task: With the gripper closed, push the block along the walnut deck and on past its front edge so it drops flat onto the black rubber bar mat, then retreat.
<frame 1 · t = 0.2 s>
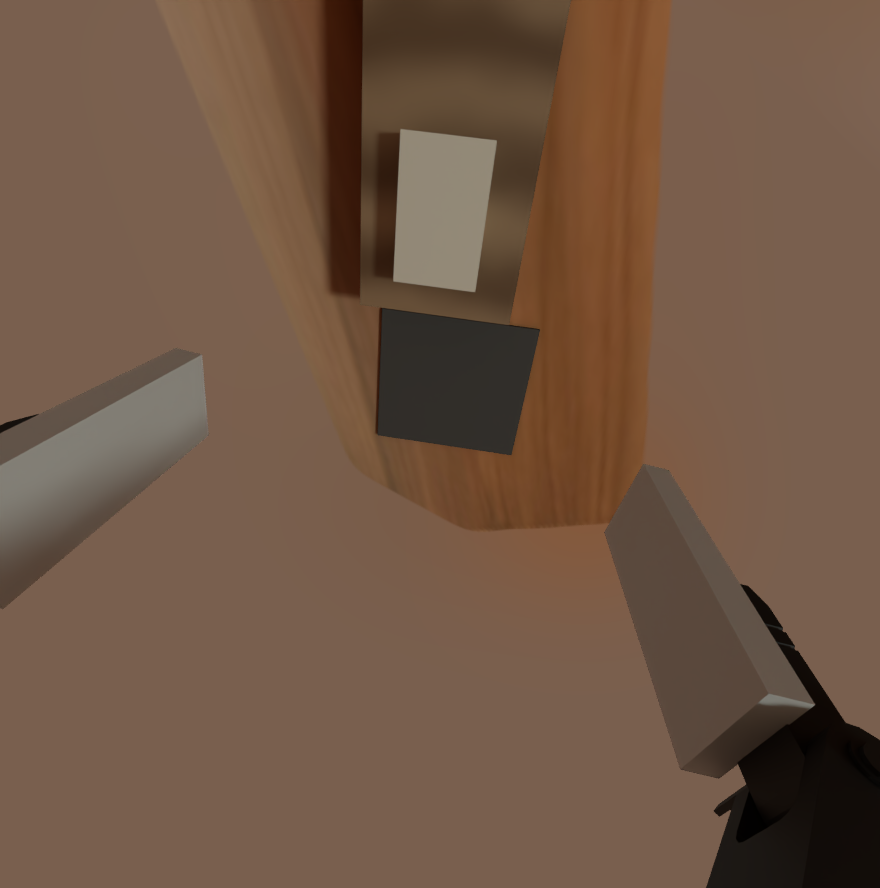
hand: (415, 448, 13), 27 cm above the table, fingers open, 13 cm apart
block: (443, 215, 30), point 4 cm above the table, touching deck
deck: (453, 168, 32), on the table
mat: (451, 386, 41), on the table
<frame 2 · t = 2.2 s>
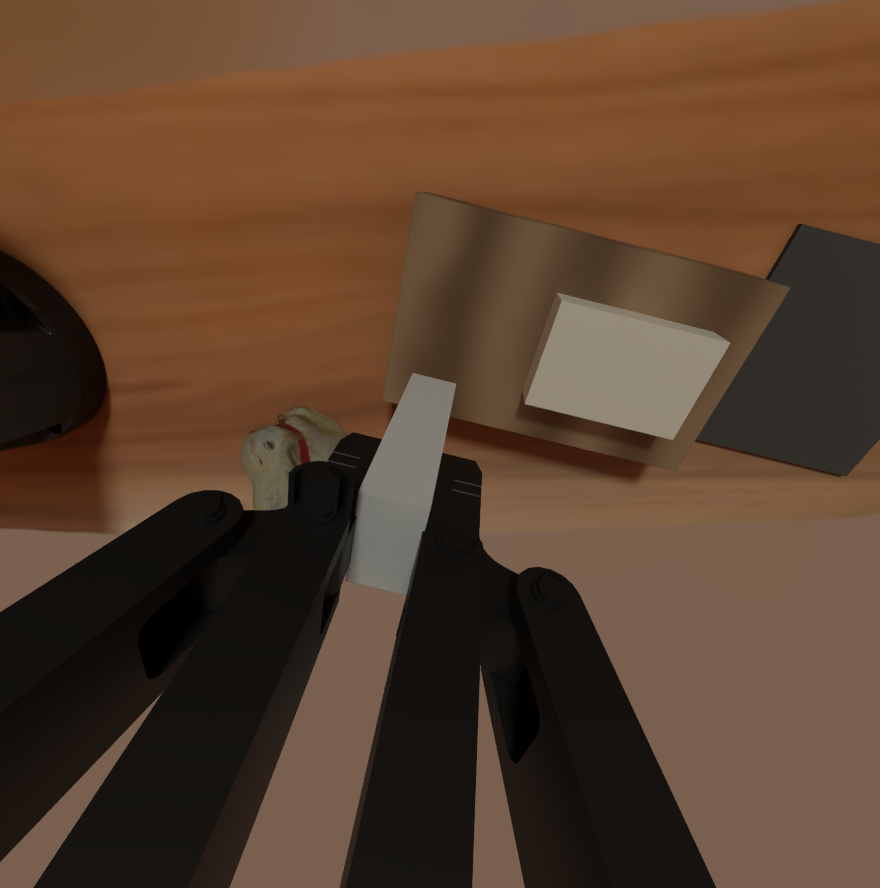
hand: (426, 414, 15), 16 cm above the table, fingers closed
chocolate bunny: (322, 439, 35), on the table
block: (612, 362, 25), point 4 cm above the table, touching deck
deck: (554, 331, 28), on the table
mat: (824, 366, 28), on the table
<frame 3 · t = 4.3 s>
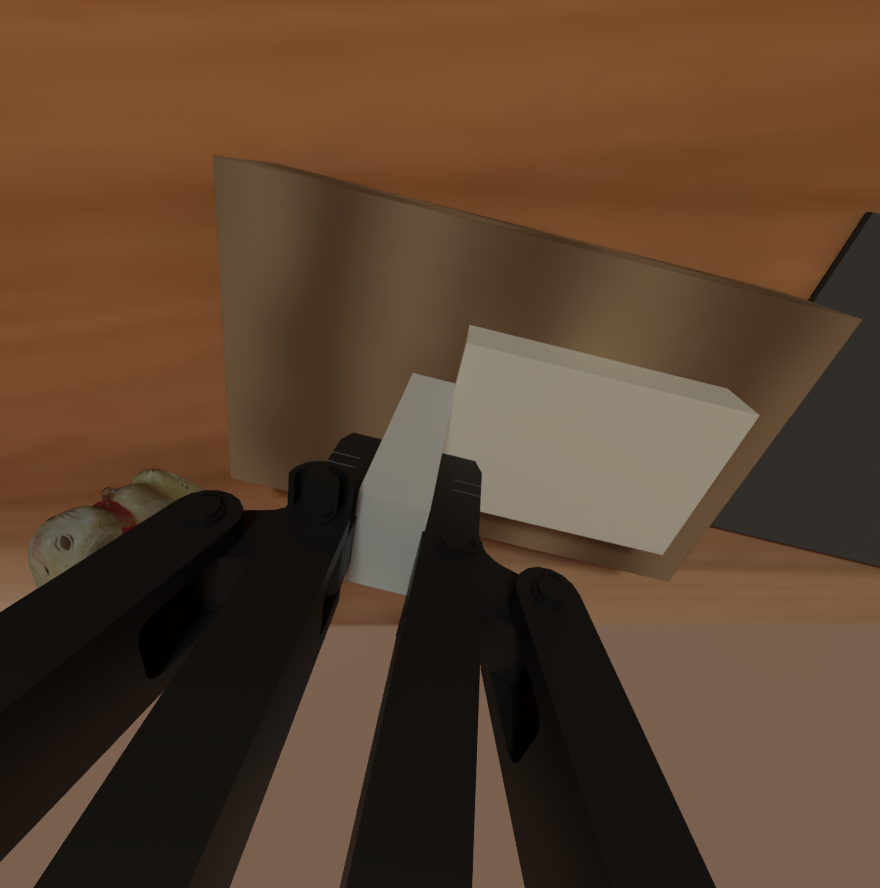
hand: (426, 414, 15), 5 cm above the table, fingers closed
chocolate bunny: (192, 509, 26), on the table
block: (566, 432, 16), point 4 cm above the table, touching gripper
deck: (489, 373, 19), on the table
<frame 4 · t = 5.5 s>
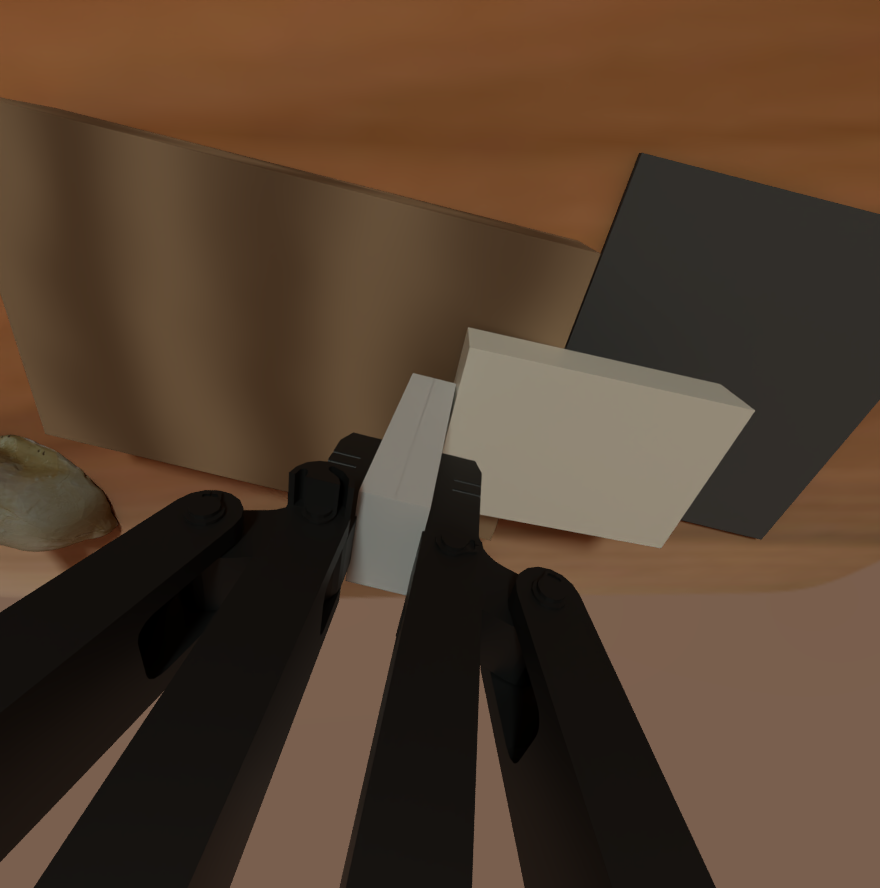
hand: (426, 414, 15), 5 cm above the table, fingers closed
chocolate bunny: (58, 477, 26), on the table
block: (565, 431, 16), point 4 cm above the table, touching deck, gripper
deck: (310, 330, 19), on the table
mat: (710, 383, 18), on the table
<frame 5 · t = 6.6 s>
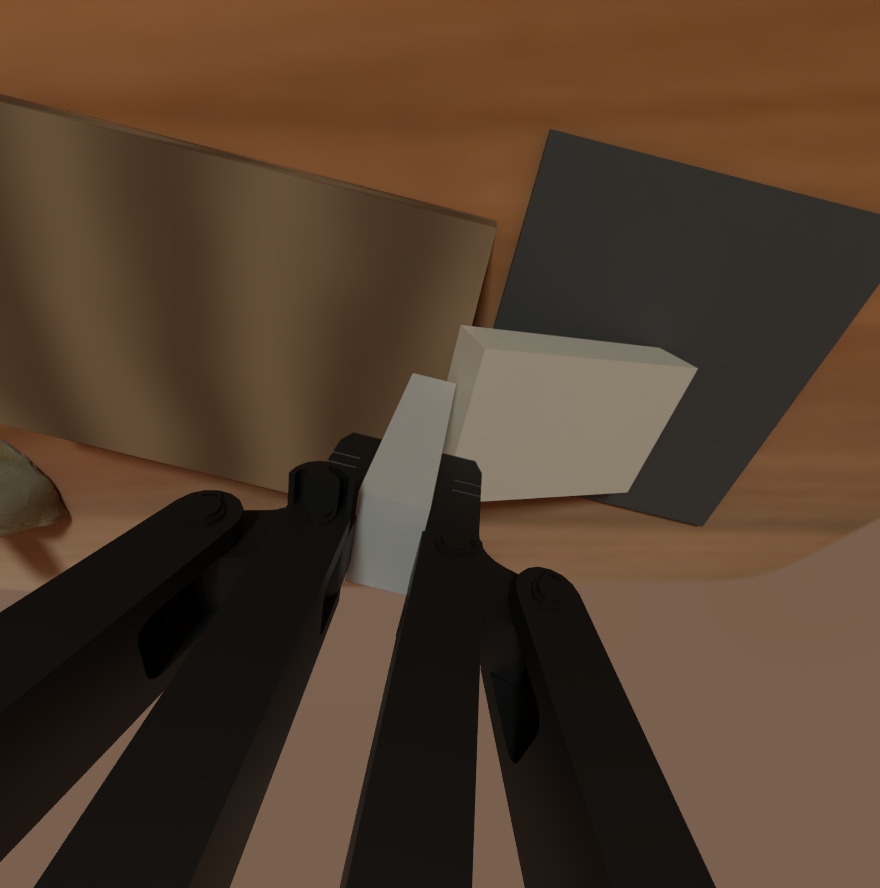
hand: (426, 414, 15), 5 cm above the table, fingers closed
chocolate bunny: (5, 465, 26), on the table
block: (543, 408, 17), point 2 cm above the table, tilted 26°, touching gripper, mat
deck: (240, 313, 19), on the table
mat: (640, 366, 18), on the table
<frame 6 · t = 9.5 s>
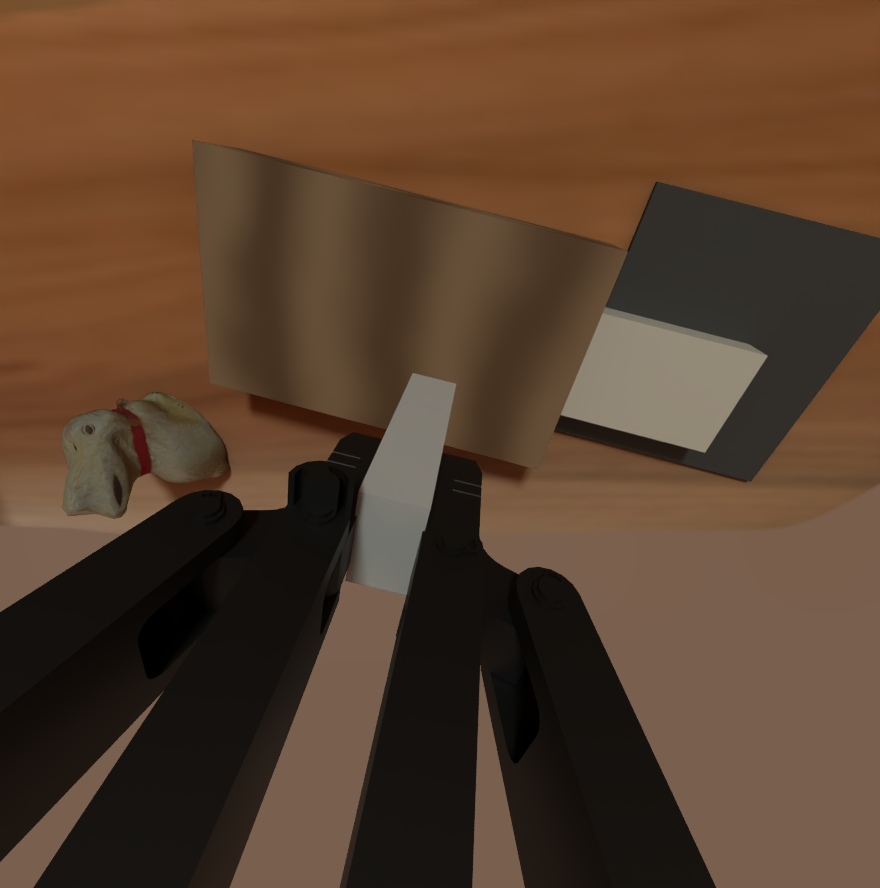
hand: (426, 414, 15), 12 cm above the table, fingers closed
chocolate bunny: (187, 428, 32), on the table
block: (643, 373, 25), resting on mat
deck: (404, 309, 25), on the table
mat: (709, 352, 24), on the table
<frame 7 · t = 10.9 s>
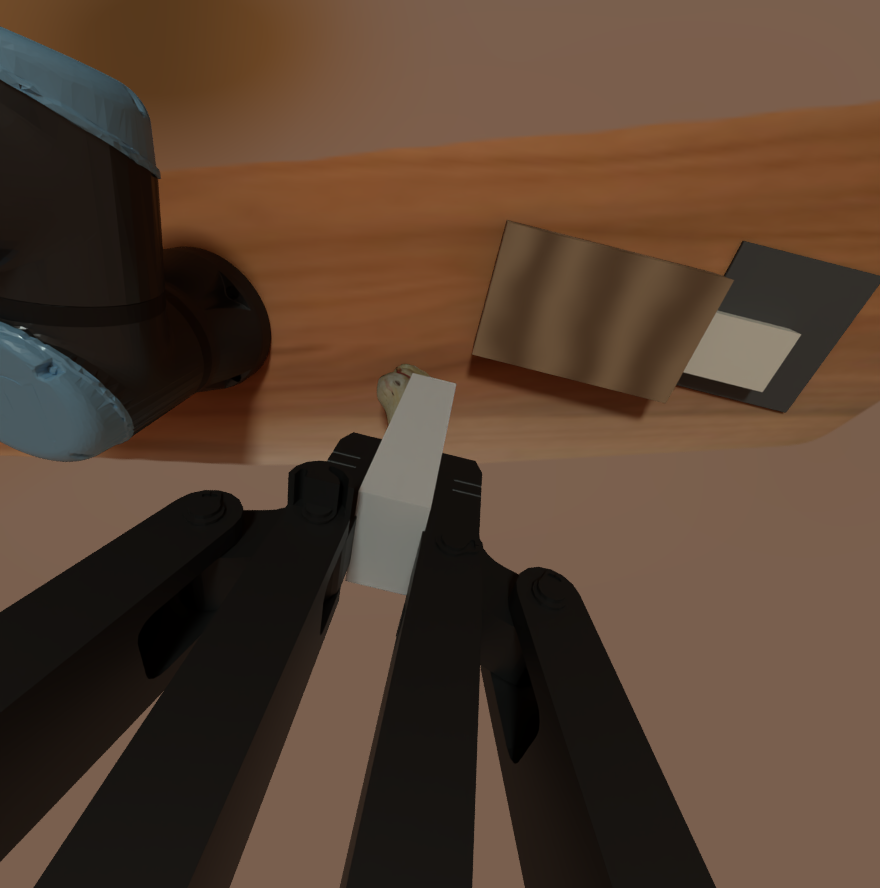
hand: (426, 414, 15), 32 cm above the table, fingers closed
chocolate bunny: (417, 388, 50), on the table
block: (726, 346, 43), resting on mat
deck: (585, 310, 43), on the table
mat: (765, 333, 42), on the table
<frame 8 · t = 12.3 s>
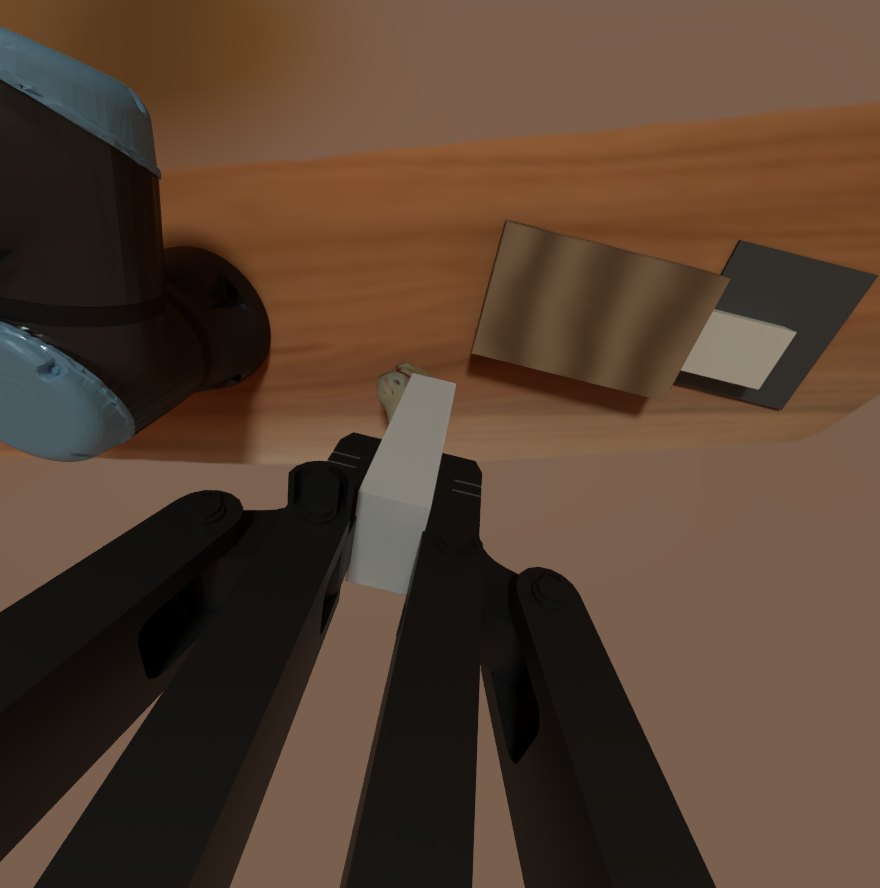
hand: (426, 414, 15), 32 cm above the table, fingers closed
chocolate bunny: (417, 387, 50), on the table
block: (723, 344, 43), resting on mat
deck: (583, 308, 43), on the table
mat: (761, 331, 42), on the table
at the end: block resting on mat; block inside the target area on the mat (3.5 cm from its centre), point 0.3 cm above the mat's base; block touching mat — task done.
